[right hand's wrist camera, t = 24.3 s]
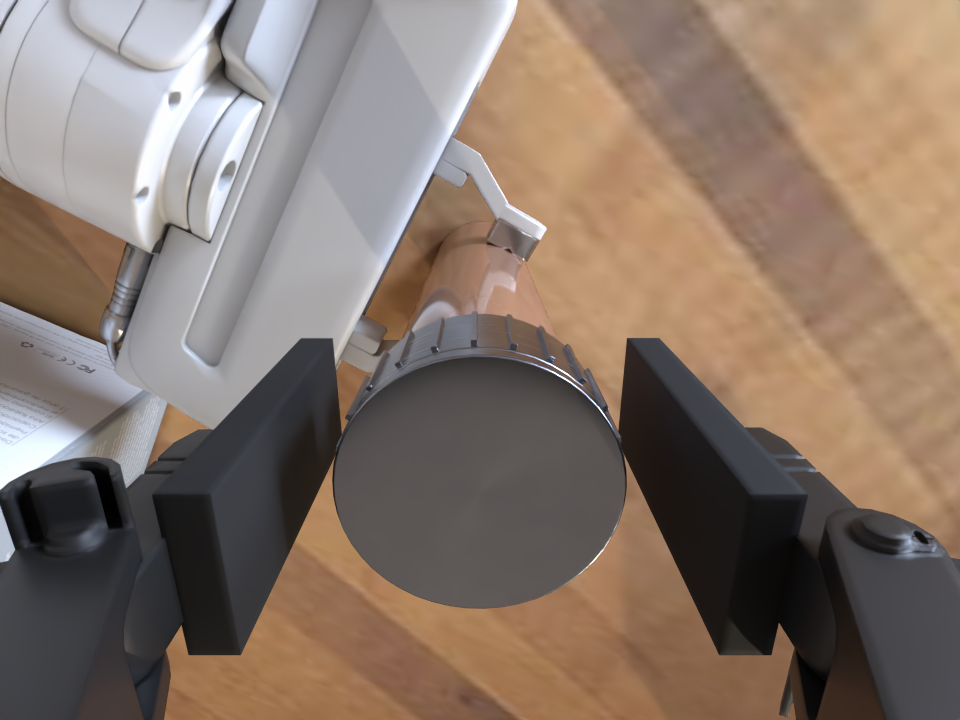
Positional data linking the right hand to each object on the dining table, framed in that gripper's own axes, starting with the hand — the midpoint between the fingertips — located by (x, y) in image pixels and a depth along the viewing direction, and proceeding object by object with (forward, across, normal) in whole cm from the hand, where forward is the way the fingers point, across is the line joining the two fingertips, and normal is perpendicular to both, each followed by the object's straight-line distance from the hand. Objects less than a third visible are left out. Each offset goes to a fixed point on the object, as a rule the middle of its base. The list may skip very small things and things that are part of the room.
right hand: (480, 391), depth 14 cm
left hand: (+10, -1, 0) cm, 10 cm away
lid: (-4, 0, 0) cm, 4 cm away
